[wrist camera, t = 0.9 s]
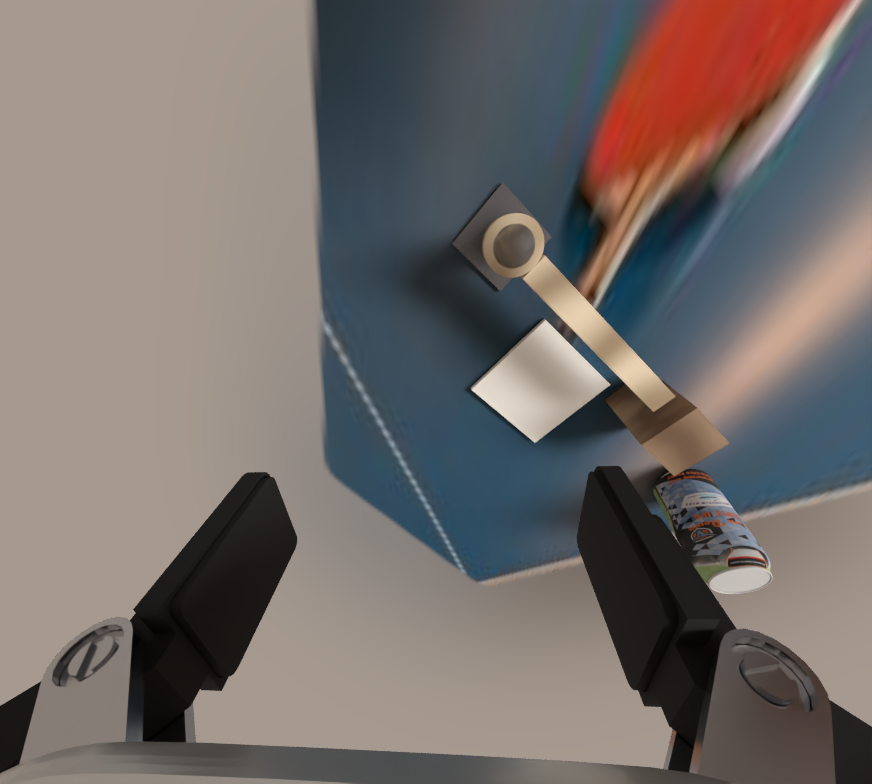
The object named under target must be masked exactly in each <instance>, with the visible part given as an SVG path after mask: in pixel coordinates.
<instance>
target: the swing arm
mask: <svg viewBox="0 0 872 784" xmlns="http://www.w3.org/2000/svg"><path fill="white" fill-rule="evenodd" d="M543 250H544V235H543V231H542V229H541V227H540V225H539V224H538V222H537V221H536V220H535V219H533V218H532V217H530V216H528V215H526V214H522V213H510V214H505V215H502V216H500V217H498V218H496V219H495V220H494V221H492V222H491V223H490V225H489V226H488V227H487V229H486V231H485V233H484V235H483V239H482V253H483V256H484V259H485V260H486V262H487V264H488V265H489V266H490V268H491V269H492V270H493V271H494V272H495V273H497V274H499V275H501V276H504V277H509V278H514V277H519V276H520V277H521V278H522V279H523V280H524V281H525V282H526V283H527V284H528V285H529V286H530V287H531V288H532V289H533V290H534V291H535V292H536V293H537V294H538V295H539V296H540V297H541V298H542V299H543V300H544V301H545V302H546V303H547V305H548V306H549V307H550V308H551V309H552V310H553V311H554V312H555V313H556V314H557V315H558V316H559V317H560V318H561V319H562V320H563V321H564V322H565V323H566V324H567V325H568V326H569V327H570V328H571V329H572V330H573V331H574V332H575V333H576V334H577V335H578V336H579V337H580V338H581V339H582V340H583V341H584V342H585V343H586V344H587V345H588V346H589V347H590V348H591V349H592V350H593V351H594V352H595V353H596V354H597V356H598V357H599V358H600V359H601V360H602V361H603V362H604V363H605V364H606V365H607V366H608V367H609V368H610V369H611V370H612V371H613V372H614V373H615V374H616V375H617V376H618V377H619V378H620V379H621V380H622V381H623V382H624V383H625V384H626V385H627V386H628V387H629V388H630V389H631V390H632V391H633V392H634V393H635V394H636V395H637V396H638V397H639V398H640V399H641V400H642V401H643V402H644V403H645V404H646V405H647V406H648V407H649V408H650V409H651V410H652V411H653V412H654V411H656V410H657V409H659V408H660V407H661V406H663V405H664V404H666V403H667V402H669V401H670V400H672V399H673V398H674V397H676V396H675V395H674V394H673V393H672V392H671V391H670V390H669V389H668V388H667V387H666V385H665V384H664V383H663V382H662V381H661V380H660V379H659V378H658V377H657V376H656V375H655V374H654V373H653V371H652V370H651V369H650V368H649V367H648V366H647V365H646V364H645V363H644V362H643V361H642V360H641V359H640V357H639V356H638V355H637V354H636V353H635V352H634V351H633V350H632V349H631V348H630V347H629V346H628V345H627V343H626V342H625V341H624V340H623V339H622V338H621V337H620V336H619V335H618V334H617V333H616V332H615V331H614V329H613V328H612V327H611V326H610V325H609V324H608V323H607V322H606V321H605V320H604V319H603V318H602V317H601V315H600V314H599V313H598V312H597V311H596V310H595V309H594V308H593V307H592V306H591V305H590V304H589V302H588V301H587V300H586V299H585V298H584V297H583V296H582V295H581V294H580V293H579V292H578V291H577V290H576V288H575V287H574V286H573V285H572V284H571V283H570V282H569V281H568V280H567V279H566V278H565V277H564V276H563V274H562V273H561V272H560V271H559V270H558V269H557V268H556V267H555V266H554V265H553V264H552V263H551V262H550V260H549V259H548V258H547V257H546V256H544V255H542V253H543Z"/></svg>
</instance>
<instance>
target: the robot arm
mask: <svg viewBox="0 0 872 784" xmlns="http://www.w3.org/2000/svg"><path fill="white" fill-rule="evenodd" d="M577 543H578V548H579V551H580V553H581V556H582V559H583V562H584V564H585V567H586V570H587V572H588V575H589V578H590V581H591V583H592V586H593V589H594V592H595V594H596V597H597V600H598V602H599V605H600V608H601V610H602V613H603V616H604V619H605V621H606V624H607V627H608V629H609V632H610V635H611V638H612V640H613V643H614V646H615V648H616V651H617V654H618V656H619V659H620V662H621V665H622V668H623V670H624V673H625V675H626V678H627V681H628V683H629V685H630V687H631V688H632V689H633V690H638V691H639V693H640V696H641V698H642V701H643V704H644V706H652V707H653V706H655V707H662V710H663V712H664V715H665V717H666V719H667V722H668V724H669V726H670V727H671V728H672V729H673V730H672V734H671V738H670V743H669V747H668V751H667V755H666V759H665V764H664V768H663V769H658V768H651V767H639V766H624V765H613V764H599V763H587V762H573V761H556V760H539V759H521V758H503V757H484V756H466V755H448V754H429V753H409V752H407V753H406V752H389V751H369V750H348V749H328V748H306V747H284V746H262V745H240V744H239V745H238V744H216V743H196V737H195V724H194V710H193V701H194V699H195V697H196V695H197V693H198V691H199V690H200V689H201V690H215V691H222V689H223V687H224V685H225V683H226V681H227V679H228V677H229V676H231V675H233V674H234V673H235V671H236V670H237V668H238V666H239V664H240V662H241V660H242V658H243V656H244V653H245V652H246V650H247V648H248V646H249V644H250V641H251V639H252V637H253V635H254V633H255V631H256V629H257V627H258V625H259V623H260V621H261V619H262V617H263V615H264V612H265V610H266V608H267V606H268V604H269V602H270V600H271V598H272V596H273V594H274V592H275V590H276V587H277V585H278V583H279V581H280V579H281V577H282V575H283V573H284V571H285V569H286V567H287V565H288V562H289V561H290V558H291V556H292V554H293V552H294V550H295V548H296V544H297V536H296V533H295V530H294V528H293V526H292V523H291V520H290V518H289V515H288V512H287V510H286V507H285V505H284V502H283V499H282V497H281V494H280V491H279V489H278V486H277V484H276V481H275V479H274V478H273V477H270V475H269V474H268V473H266V472H257V473H256V472H255V473H246V474H244V475H243V476H242V477H241V478H240V480H239V481H238V482H237V483H236V485H235V486H234V487H233V488H232V489H231V491H230V492H229V493H228V494H227V496H226V497H225V498H224V499H223V500H222V502H221V503H220V504H219V505H218V507H217V508H216V509H215V510H214V511H213V513H212V514H211V515H210V516H209V518H208V519H207V520H206V521H205V522H204V524H203V525H202V526H201V527H200V529H199V530H198V531H197V532H196V533H195V535H194V536H193V537H192V538H191V540H190V541H189V542H188V543H187V544H186V546H185V547H184V548H183V549H182V551H181V552H180V553H179V554H178V555H177V557H176V558H175V559H174V560H173V562H172V563H171V564H170V565H169V567H168V568H167V569H166V570H165V571H164V573H163V574H162V575H161V576H160V577H159V579H158V580H157V581H156V582H155V584H154V585H153V586H152V587H151V589H150V590H149V591H148V592H147V593H146V595H145V596H144V597H143V598H142V599H141V601H140V602H139V603H138V605H137V606H136V607H135V608H134V609H133V610H134V611H135V612H136V614H135V615H134V616H133V617H132V619H131V620H130V621H129V620H128V619H127V618H122V617H116V618H111V619H107V620H104V621H102V622H99V623H97V624H95V625H93V626H91V627H90V628H88V629H87V630H85V631H83V632H82V633H80V634H79V635H78V636H76V637H75V638H74V639H73V640H71V641H70V642H69V643H68V644H67V645H66V646H65V647H64V648H63V649H62V650H61V651H60V652H59V653H58V654H57V655H56V656H55V658H54V659H53V660H52V662H51V663H50V664H49V666H48V667H47V669H46V671H45V674H44V676H43V678H42V681H41V682H39V683H38V684H36V685H34V686H33V687H31V688H29V689H28V690H26V691H24V692H23V693H21V694H19V695H18V696H16V697H14V698H13V699H11V700H9V701H8V702H6V703H5V704H3V705H1V706H0V784H872V727H871V726H870V725H868V724H866V723H865V722H863V721H862V720H860V719H859V718H857V717H855V716H854V715H852V714H851V713H849V712H847V711H846V710H844V709H843V708H841V707H840V706H838V705H837V704H835V703H833V702H832V701H830V700H829V698H828V694H827V692H826V690H825V688H824V687H823V685H822V683H821V681H820V680H819V678H818V677H817V675H816V674H815V673H814V672H813V671H812V670H811V668H810V667H809V666H808V665H807V664H806V663H805V662H804V661H803V660H802V659H801V658H800V657H799V656H797V655H796V654H795V653H794V652H792V650H790V649H789V648H788V647H786V646H784V645H783V644H781V643H780V642H778V641H777V640H775V639H773V638H771V637H769V636H766V635H764V634H762V633H760V632H757V631H752V630H748V629H736V627H735V626H734V624H733V623H732V621H731V620H730V619H729V617H728V616H727V614H726V613H725V611H724V610H723V608H722V607H721V605H720V604H719V602H718V601H717V600H716V598H715V596H714V595H713V594H712V592H711V591H710V589H709V588H708V586H707V585H706V583H705V582H704V580H703V579H702V577H701V576H700V574H699V573H698V571H697V570H696V568H695V567H694V565H693V564H692V563H691V561H690V560H689V558H688V557H687V555H686V554H685V552H684V551H683V549H682V548H681V546H680V545H679V543H678V542H677V540H676V539H675V537H674V536H673V534H672V533H671V532H670V530H669V529H668V527H667V526H666V524H665V523H664V522H663V520H662V519H661V518H660V517H658V516H657V515H652V514H651V513H650V511H649V510H648V508H647V506H646V505H645V503H644V502H643V500H642V499H641V497H640V496H639V494H638V493H637V491H636V490H635V488H634V487H633V485H632V484H631V482H630V480H629V479H628V477H627V476H626V474H625V473H624V471H623V470H622V469H621V467H619V466H598V467H596V468H595V471H594V472H590V473H589V475H588V480H587V485H586V491H585V496H584V501H583V507H582V512H581V517H580V523H579V528H578V533H577Z"/></svg>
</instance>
